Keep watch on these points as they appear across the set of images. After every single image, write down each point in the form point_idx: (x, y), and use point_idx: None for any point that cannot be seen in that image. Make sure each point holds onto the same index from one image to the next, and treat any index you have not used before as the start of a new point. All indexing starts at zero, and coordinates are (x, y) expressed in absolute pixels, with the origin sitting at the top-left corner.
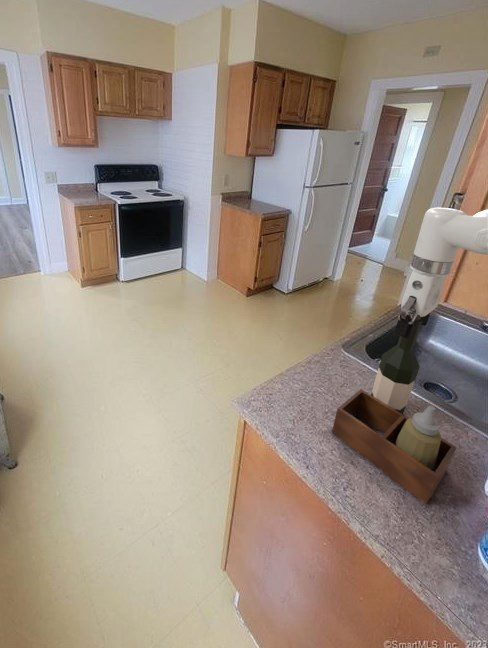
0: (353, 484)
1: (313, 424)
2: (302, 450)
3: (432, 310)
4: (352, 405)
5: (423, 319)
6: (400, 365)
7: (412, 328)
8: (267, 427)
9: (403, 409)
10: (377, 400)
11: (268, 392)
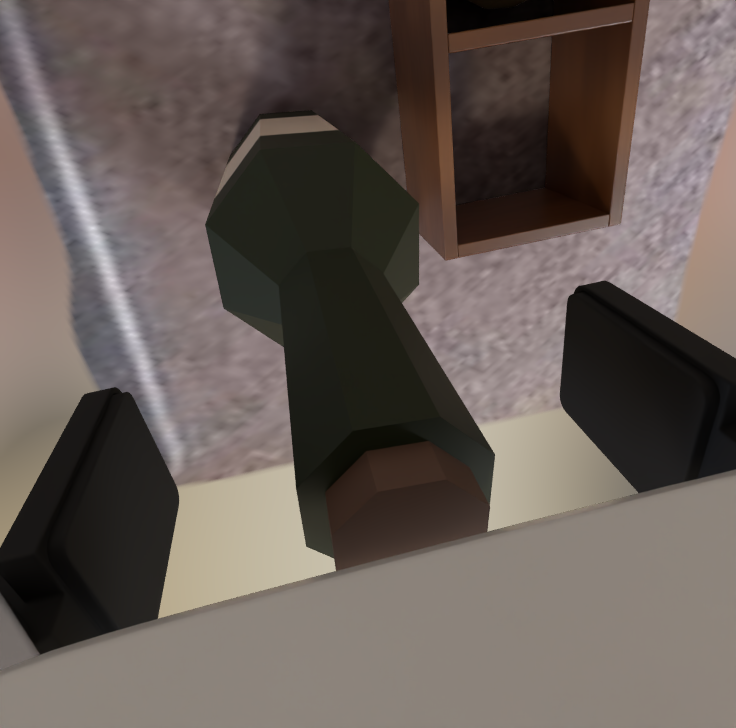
0: (681, 11)
1: (570, 246)
2: (677, 188)
3: (349, 578)
4: (506, 221)
5: (124, 464)
6: (410, 213)
7: (695, 344)
8: (675, 294)
9: (277, 116)
10: (449, 177)
11: None
